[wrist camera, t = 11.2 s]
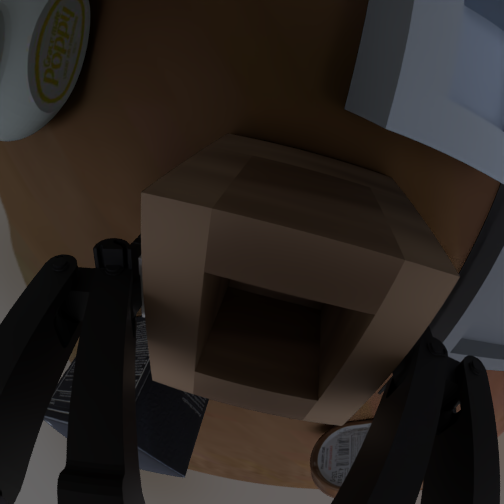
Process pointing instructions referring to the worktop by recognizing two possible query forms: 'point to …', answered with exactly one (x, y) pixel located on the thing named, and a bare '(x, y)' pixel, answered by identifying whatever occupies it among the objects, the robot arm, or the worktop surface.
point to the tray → (478, 298)
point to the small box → (147, 414)
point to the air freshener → (39, 60)
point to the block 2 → (435, 76)
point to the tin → (337, 455)
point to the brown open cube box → (284, 279)
